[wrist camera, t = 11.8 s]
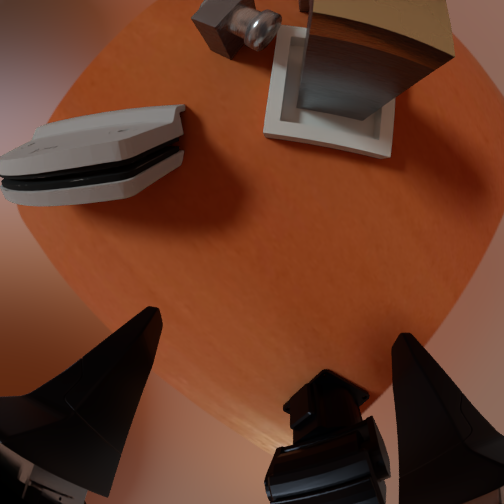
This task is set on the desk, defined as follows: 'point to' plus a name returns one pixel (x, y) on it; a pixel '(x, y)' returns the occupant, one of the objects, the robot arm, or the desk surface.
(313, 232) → the desk surface
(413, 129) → the desk surface
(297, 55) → the white square tray
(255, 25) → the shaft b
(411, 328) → the desk surface
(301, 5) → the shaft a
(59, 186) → the white electronic device
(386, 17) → the tan and grey block
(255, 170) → the desk surface
